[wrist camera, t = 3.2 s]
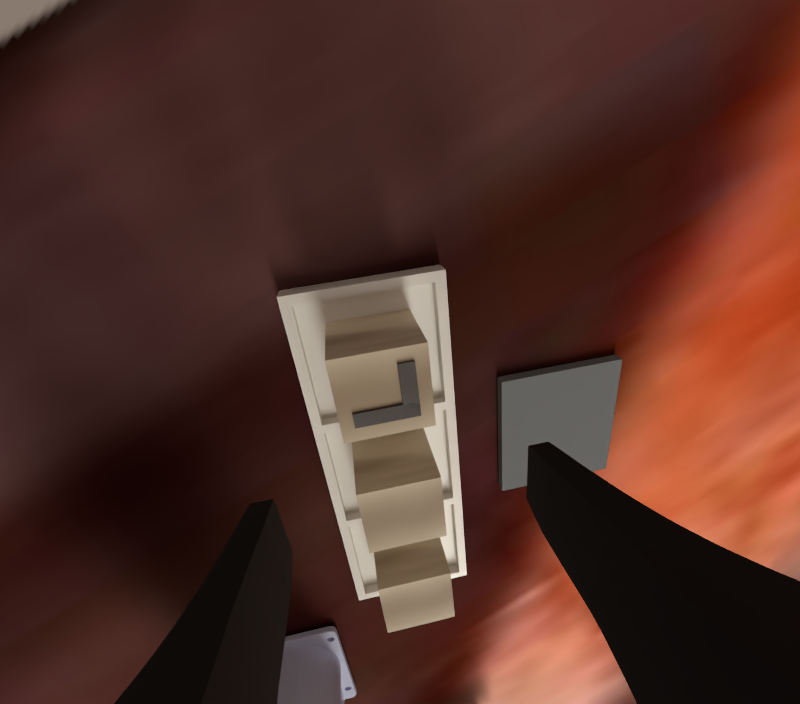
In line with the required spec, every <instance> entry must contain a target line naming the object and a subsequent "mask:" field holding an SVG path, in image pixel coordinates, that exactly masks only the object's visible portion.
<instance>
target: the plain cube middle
mask: <svg viewBox="0 0 800 704" xmlns="http://www.w3.org/2000/svg"><path fill="white" fill-rule="evenodd" d="M352 452H353V464H354V476H355V488H356V497H357V501H358V506H359V510H360V514H361V519H362V523H363V527H364V532H365V536H366V540H367V544H368V549H369V553H373V552H377V551H381V550H386V549H390V548H395V547H399V546H403V545H408V544H412V543H417V542H421V541H426V540H430V539H434V538H439V537H443V536H447V532H446V522H445V512H444V502H443V491H442V481H441V476H440V473H439V470H438V467H437V464H436V461H435V459H434V456H433V453H432V450H431V447H430V445H429V442H428V439H427V436H426V433H425V431H424V428H421V429H416V430H411V431H406V432H401V433H396V434H391V435H386V436H381V437H376V438H371V439H366V440H361V441H356V442H352Z"/></svg>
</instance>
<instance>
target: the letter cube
mask: <svg viewBox="0 0 800 704" xmlns="http://www.w3.org/2000/svg"><path fill="white" fill-rule="evenodd" d="M325 364H326V368H327V372H328V377H329V381H330V385H331V390H332V394H333V398H334V403H335V407H336V411H337V415H338V420H339V424H340V428H341V433H342V437H343V441H344V444H346V443H351V442H356V441H361V440H366V439H371V438H376V437H381V436H386V435H391V434H396V433H401V432H406V431H411V430H416V429H421V428H426V427H431V426H436V420H435V410H434V395H433V388H432V379H431V369H430V358H429V348H428V341H427V340H426V338H425V336H424V334H423V332H422V331H421V329H420V327H419V325H418V323H417V321H416V320H415V318H414V316H413V314H412V312H411V311H410V309H409V308H408V309H402V310H397V311H391V312H385V313H379V314H373V315H367V316H362V317H356V318H350V319H344V320H338V321H332V322H326V327H325Z"/></svg>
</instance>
